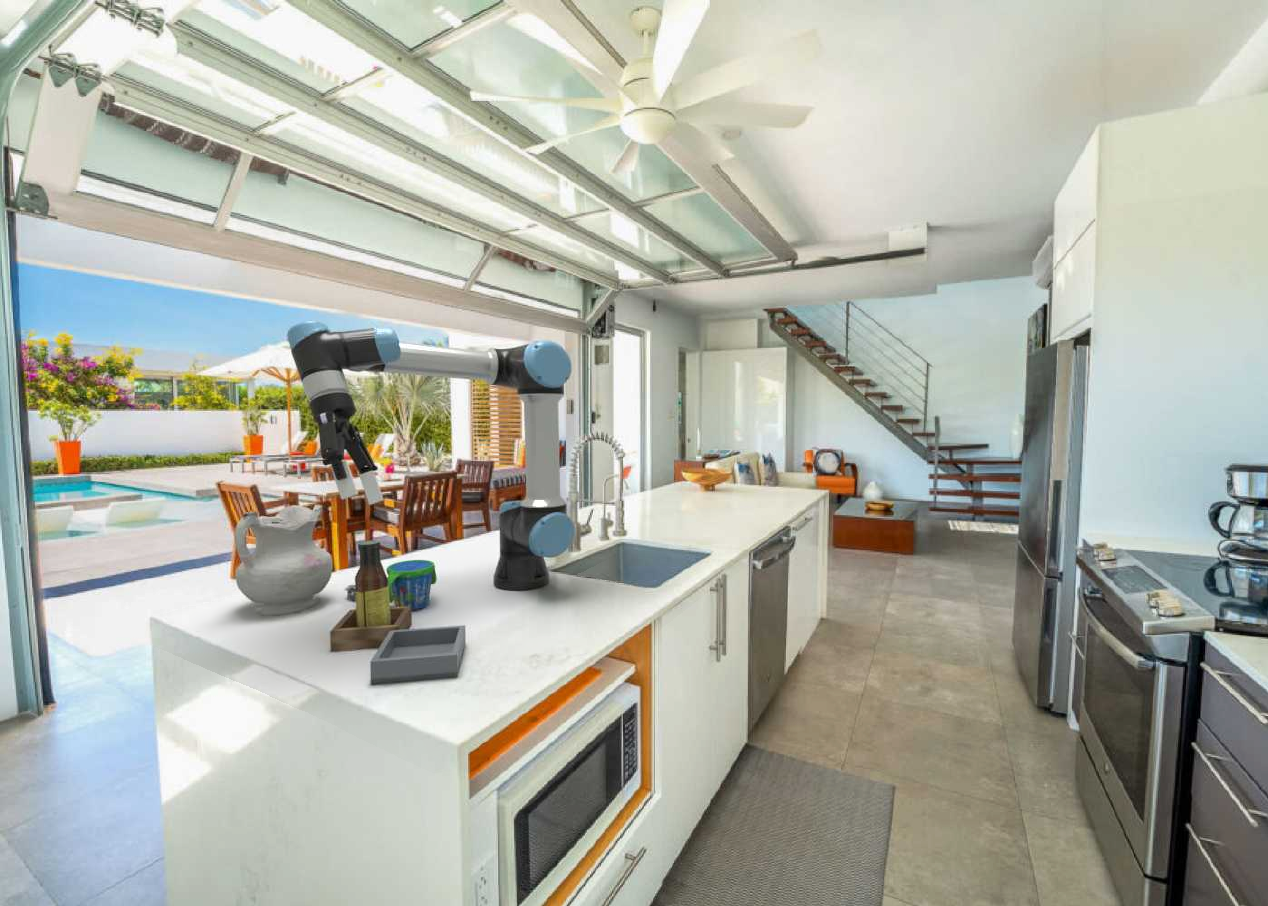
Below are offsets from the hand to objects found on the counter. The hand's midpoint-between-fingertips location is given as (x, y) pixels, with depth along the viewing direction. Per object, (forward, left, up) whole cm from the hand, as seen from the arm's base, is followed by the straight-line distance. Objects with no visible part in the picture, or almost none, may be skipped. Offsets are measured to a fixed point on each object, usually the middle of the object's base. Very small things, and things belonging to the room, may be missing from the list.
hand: (364, 500), depth 103 cm
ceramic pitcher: (+26, -30, -30) cm, 50 cm away
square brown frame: (+1, -7, -29) cm, 30 cm away
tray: (-11, +8, -29) cm, 33 cm away
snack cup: (-3, -25, -30) cm, 39 cm away
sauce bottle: (+1, -7, -30) cm, 31 cm away
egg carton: (+9, -36, -30) cm, 48 cm away
